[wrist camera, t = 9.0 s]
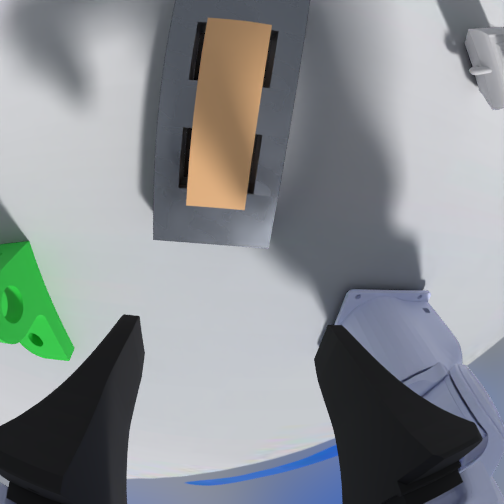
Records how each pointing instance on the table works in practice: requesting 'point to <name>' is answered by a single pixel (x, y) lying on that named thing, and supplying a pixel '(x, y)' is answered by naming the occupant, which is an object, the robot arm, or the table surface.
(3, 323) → the mechanical part
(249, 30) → the tan wooden block
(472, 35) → the stamp
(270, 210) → the grey flat block
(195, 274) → the table surface
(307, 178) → the table surface
